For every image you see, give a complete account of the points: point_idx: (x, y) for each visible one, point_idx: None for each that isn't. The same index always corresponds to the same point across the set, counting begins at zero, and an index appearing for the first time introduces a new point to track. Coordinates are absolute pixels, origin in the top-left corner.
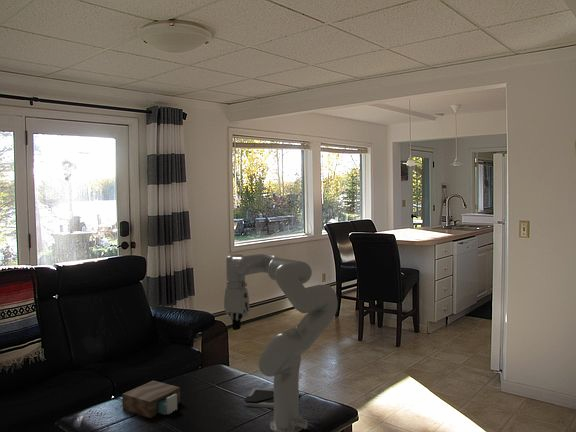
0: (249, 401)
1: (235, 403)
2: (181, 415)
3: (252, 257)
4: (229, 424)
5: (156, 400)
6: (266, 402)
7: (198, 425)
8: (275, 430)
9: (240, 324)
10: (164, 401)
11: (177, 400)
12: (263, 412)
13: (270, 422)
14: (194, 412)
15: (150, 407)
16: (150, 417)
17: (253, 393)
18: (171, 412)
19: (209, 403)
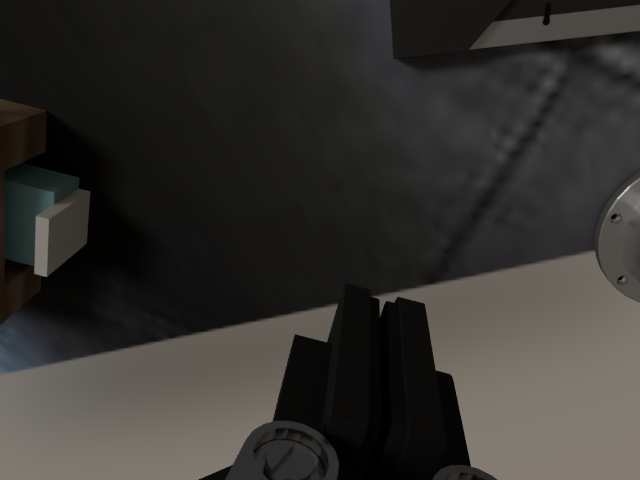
0: (430, 54)
1: (334, 37)
2: (146, 238)
3: None
4: (397, 266)
5: (2, 286)
6: (532, 17)
7: (270, 302)
8: (635, 300)
9: (457, 408)
10: (21, 236)
11: (36, 133)
12: (528, 107)
13: (599, 238)
14: (183, 197)
15: (14, 309)
16: (40, 287)
17: None
18: (87, 226)
19: (195, 79)
